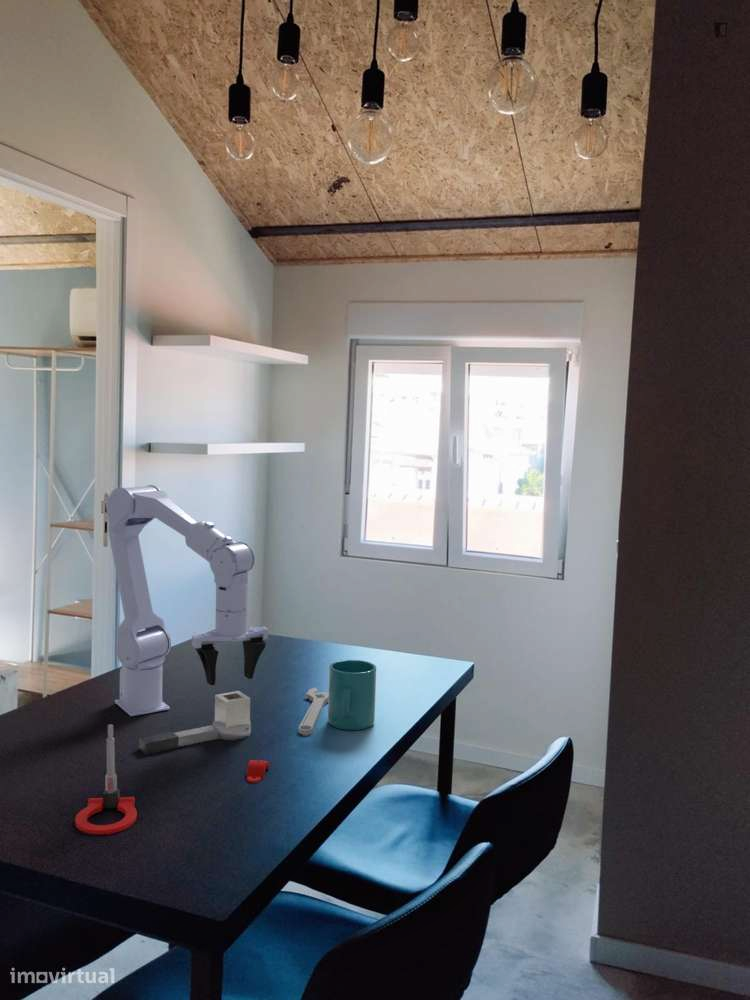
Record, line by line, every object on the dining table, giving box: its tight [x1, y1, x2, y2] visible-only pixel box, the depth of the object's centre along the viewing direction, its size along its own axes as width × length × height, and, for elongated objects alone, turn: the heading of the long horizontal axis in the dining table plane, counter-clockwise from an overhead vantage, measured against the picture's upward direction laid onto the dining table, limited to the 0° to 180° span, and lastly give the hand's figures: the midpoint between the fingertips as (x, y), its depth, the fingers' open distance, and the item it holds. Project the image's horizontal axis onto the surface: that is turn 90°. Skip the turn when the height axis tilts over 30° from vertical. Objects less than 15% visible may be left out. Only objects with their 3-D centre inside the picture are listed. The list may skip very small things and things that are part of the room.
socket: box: [214, 690, 251, 729], centre depth 157 cm, size 5×5×5 cm
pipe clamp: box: [246, 759, 270, 784], centre depth 140 cm, size 8×3×2 cm, turn 175°
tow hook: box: [75, 723, 138, 835], centre depth 122 cm, size 8×13×9 cm
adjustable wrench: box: [298, 687, 329, 736], centre depth 170 cm, size 25×6×2 cm, turn 170°
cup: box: [327, 659, 377, 731], centre depth 162 cm, size 9×12×11 cm
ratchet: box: [138, 719, 252, 755], centre depth 153 cm, size 7×20×4 cm, turn 126°
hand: (230, 680), depth 158 cm, fingers open, 7 cm apart
